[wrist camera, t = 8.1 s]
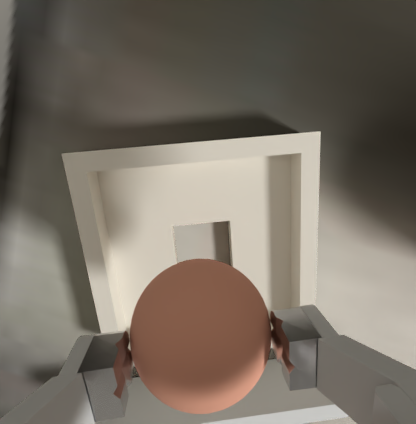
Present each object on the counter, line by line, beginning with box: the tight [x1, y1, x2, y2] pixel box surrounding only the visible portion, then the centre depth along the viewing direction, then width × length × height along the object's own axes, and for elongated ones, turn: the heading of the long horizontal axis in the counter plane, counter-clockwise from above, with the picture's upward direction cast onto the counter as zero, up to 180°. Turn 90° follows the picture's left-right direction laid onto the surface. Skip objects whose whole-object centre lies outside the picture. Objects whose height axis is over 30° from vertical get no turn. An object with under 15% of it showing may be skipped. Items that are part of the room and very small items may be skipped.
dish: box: [62, 131, 321, 366], centre depth 16 cm, size 13×13×2 cm
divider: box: [95, 359, 349, 424], centre depth 18 cm, size 1×18×4 cm, turn 95°
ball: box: [130, 259, 271, 414], centre depth 10 cm, size 5×5×5 cm
